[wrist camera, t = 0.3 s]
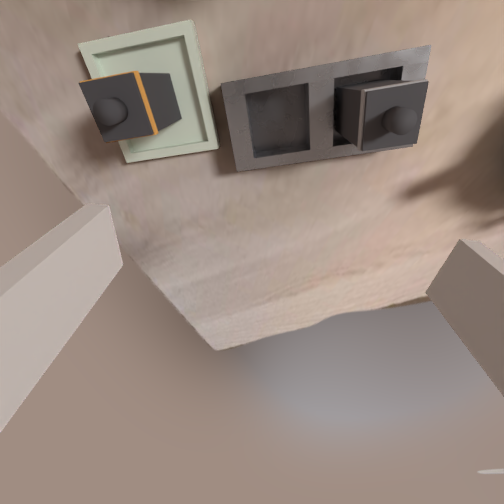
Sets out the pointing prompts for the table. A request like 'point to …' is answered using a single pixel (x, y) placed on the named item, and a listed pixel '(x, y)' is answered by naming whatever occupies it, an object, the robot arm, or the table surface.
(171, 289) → the table surface
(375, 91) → the twin plug
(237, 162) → the strip
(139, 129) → the plug
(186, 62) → the tray
